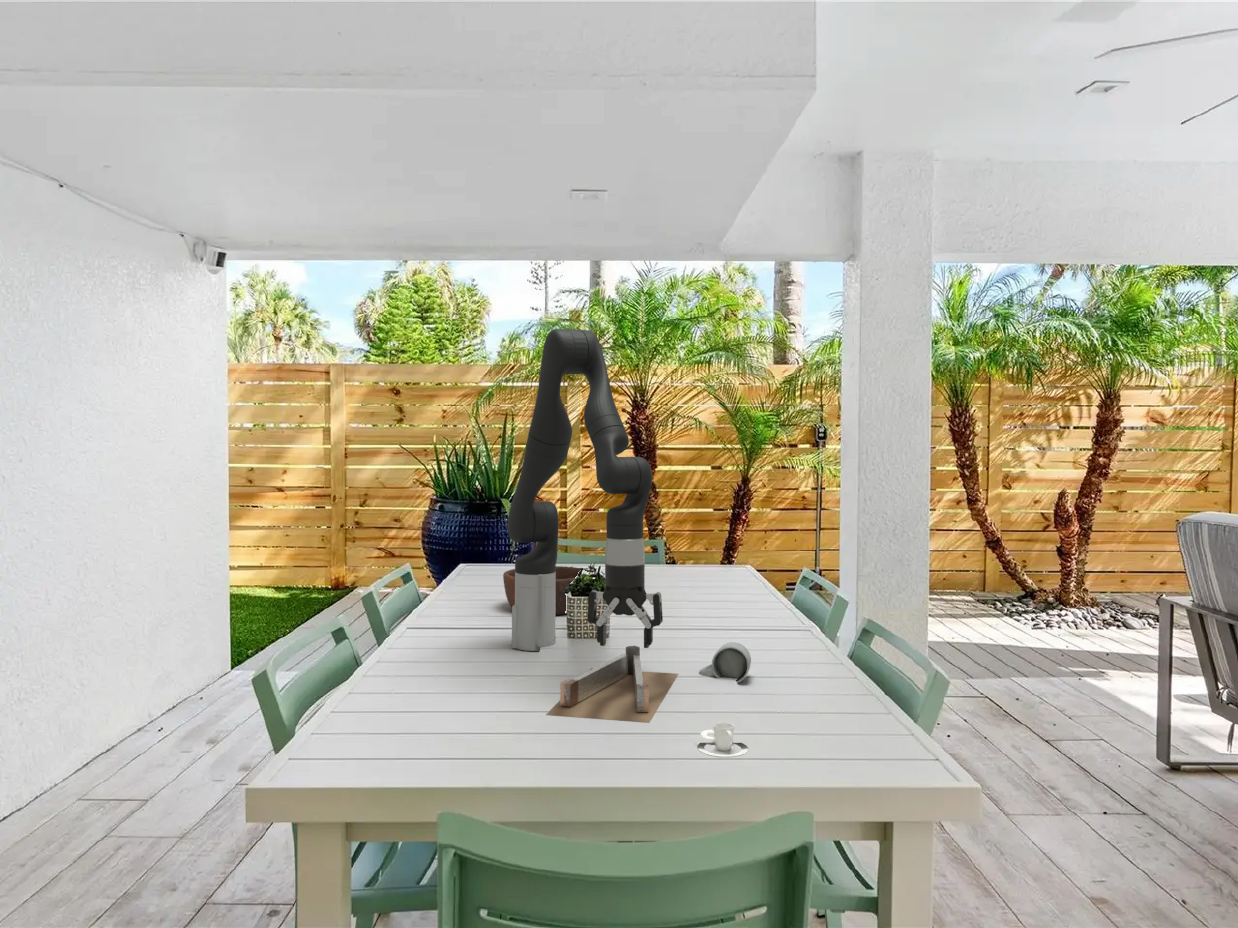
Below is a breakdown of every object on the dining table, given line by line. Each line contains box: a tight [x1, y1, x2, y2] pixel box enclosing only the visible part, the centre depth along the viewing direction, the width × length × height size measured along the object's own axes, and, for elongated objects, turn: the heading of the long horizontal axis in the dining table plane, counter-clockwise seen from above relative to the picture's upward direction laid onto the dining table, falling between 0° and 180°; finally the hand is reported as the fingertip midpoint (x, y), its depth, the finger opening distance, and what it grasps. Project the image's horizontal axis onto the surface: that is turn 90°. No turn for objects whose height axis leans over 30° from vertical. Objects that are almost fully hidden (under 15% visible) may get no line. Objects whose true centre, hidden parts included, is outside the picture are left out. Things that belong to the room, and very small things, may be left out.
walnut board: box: [545, 645, 679, 724], centre depth 173 cm, size 18×32×6 cm, turn 168°
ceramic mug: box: [698, 641, 752, 684], centre depth 187 cm, size 10×8×7 cm
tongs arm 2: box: [633, 654, 649, 712], centre depth 172 cm, size 24×2×4 cm, turn 1°
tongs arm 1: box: [559, 653, 628, 707], centre depth 174 cm, size 24×2×4 cm, turn 155°
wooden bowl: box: [502, 565, 590, 616], centre depth 258 cm, size 25×25×10 cm
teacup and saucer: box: [696, 721, 749, 758], centre depth 146 cm, size 9×8×4 cm
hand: (624, 646), depth 178 cm, fingers open, 8 cm apart
